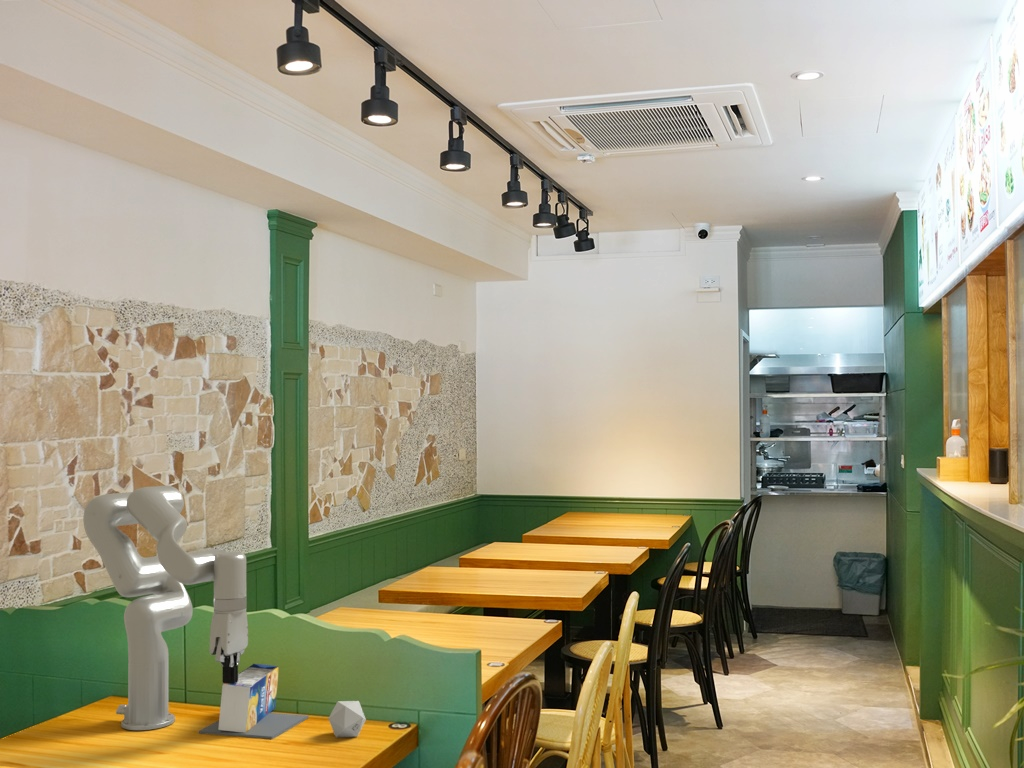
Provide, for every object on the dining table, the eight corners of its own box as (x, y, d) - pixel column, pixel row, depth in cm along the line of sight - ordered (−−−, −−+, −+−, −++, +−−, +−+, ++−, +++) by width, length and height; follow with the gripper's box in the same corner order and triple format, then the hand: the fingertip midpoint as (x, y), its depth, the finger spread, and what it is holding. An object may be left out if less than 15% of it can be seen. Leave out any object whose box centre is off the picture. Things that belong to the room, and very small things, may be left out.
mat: (198, 733, 240) (198, 730, 240) (238, 712, 258) (238, 710, 258) (272, 739, 235) (272, 736, 235) (308, 717, 252) (308, 715, 252)
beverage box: (222, 683, 239) (253, 663, 261) (218, 730, 239) (249, 705, 260) (250, 686, 239) (279, 666, 260) (245, 733, 238) (275, 708, 260)
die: (348, 746, 231) (371, 708, 234) (317, 726, 233) (341, 689, 236) (353, 748, 238) (375, 712, 242) (323, 729, 240) (346, 693, 244)
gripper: (233, 599, 245) (233, 674, 244) (198, 609, 231) (198, 689, 230) (260, 600, 243) (260, 676, 242) (226, 610, 229) (226, 691, 228)
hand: (230, 682), depth 236 cm, fingers closed
